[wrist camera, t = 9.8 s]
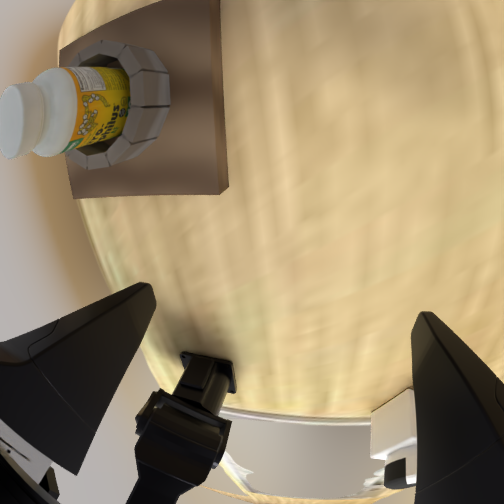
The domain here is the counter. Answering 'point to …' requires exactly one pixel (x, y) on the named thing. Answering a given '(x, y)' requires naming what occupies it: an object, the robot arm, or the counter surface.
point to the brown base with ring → (157, 104)
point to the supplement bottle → (64, 110)
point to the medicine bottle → (396, 440)
